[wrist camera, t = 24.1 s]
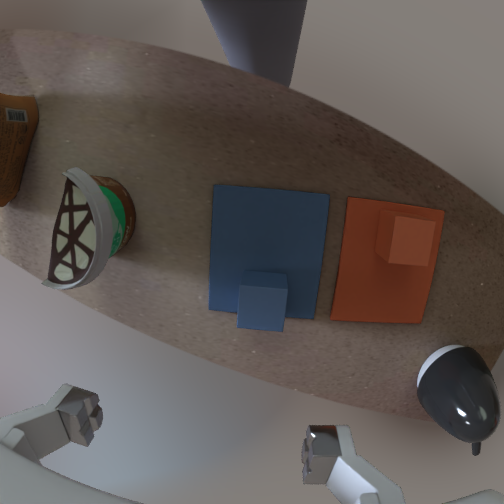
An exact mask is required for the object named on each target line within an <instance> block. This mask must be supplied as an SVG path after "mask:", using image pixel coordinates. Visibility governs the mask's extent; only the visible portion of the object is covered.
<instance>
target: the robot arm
mask: <svg viewBox="0 0 504 504" xmlns="http://www.w3.org/2000/svg"><path fill="white" fill-rule="evenodd" d="M98 402H99V398H98V395H97V394H96V393H93V392H90V391H87V390H84V389H81V388H78V387H75V386H72V385H69V384H63V385H62V386H61V387H60V388H59V390H58V391H57V392H56V393H55V394H54V395H53V397H51V399H50V400H49V401H48V402H47V403H46V404H45V405H44V404H41V405H38V406H35V407H32V408H29V409H26V410H23V411H20V412H17V413H14V414H11V415H8V416H5V417H2V418H0V504H143V503H139V502H136V501H132V500H129V499H125V498H122V497H119V496H116V495H112V494H110V493H107V492H104V491H101V490H98V489H96V488H93V487H90V486H88V485H85V484H82V483H80V482H77V481H75V480H72V479H70V478H68V477H65V476H63V475H61V474H59V473H56V472H54V471H52V470H50V469H48V468H46V467H44V466H42V464H41V463H40V461H39V459H41V458H43V457H44V456H46V455H48V454H50V453H52V452H54V451H55V450H57V449H59V448H61V447H62V446H64V445H66V444H68V443H69V442H70V441H72V442H74V443H77V444H81V445H83V446H86V447H88V446H89V444H90V443H91V441H92V439H93V438H94V434H93V432H94V431H96V430H98V429H99V428H100V426H101V424H102V420H103V412H102V408H101V407H100V406H99V405H98ZM306 436H307V438H306V439H304V442H303V446H302V463H304V467H303V471H302V472H303V484H326V486H327V487H328V488H329V490H330V491H331V492H332V493H333V495H334V496H335V497H336V498H337V499H338V500H339V502H340V503H341V504H406V503H405V499H404V496H403V493H402V490H401V487H399V486H398V485H397V484H395V483H394V482H393V481H391V480H390V479H389V478H388V477H386V476H385V475H384V474H383V473H381V472H380V471H379V470H378V469H376V468H375V467H374V466H373V465H371V464H370V463H369V462H368V461H367V460H365V459H364V458H363V457H362V456H360V455H357V454H356V451H355V446H354V442H353V438H352V434H351V431H350V427H349V426H348V425H335V426H334V425H309V426H308V428H307V431H306ZM443 504H504V495H503V494H501V493H499V492H497V491H494V490H492V489H488V490H484V491H480V492H478V493H475V494H472V495H469V496H466V497H463V498H460V499H457V500H453V501H450V502H447V503H443Z"/></svg>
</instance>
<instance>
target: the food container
mask: <svg viewBox="0 0 504 504" xmlns="http://www.w3.org/2000/svg"><path fill="white" fill-rule="evenodd" d="M62 175H64V176H66V177H67V180H66V183H65V189H64V194H63V198H62V202H61V205H60V209H59V212H58V215H57V219H56V222H55V226H54V230H53V237H52V250H51V259H50V265H49V273H48V279H46V280H45V281H44V282H42V284H43V285H45V286H47V287H50V288H53V289H64V290H65V289H73V288H76V287H80V286H83V285H86V284H88V283H90V282H91V281H93V280H94V279H95V278H96V277H97V276H99V274H100V273H101V272H102V270H103V269H104V267H105V265H106V263H107V261H108V259H109V258H110V257H111V256H112V255H114V254H115V253H116V252H117V251H118V250H120V249H121V248H122V247H123V246H125V245H126V244H127V243H128V241H129V240H130V238H131V236H132V234H133V231H134V228H135V221H136V216H135V208H134V204H133V201H132V199H131V197H130V195H129V193H128V192H127V190H126V189H125V188H124V187H123V186H122V185H121V184H120V183H119V182H117V181H116V180H114V179H112V178H109V177H101V176H92V175H88V174H87V173H85V172H84V171H83V170H81V169H79V168H77V167H74V168H71V169H68V170H67V171H66V173H62Z"/></svg>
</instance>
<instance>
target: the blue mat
mask: <svg viewBox="0 0 504 504" xmlns="http://www.w3.org/2000/svg"><path fill="white" fill-rule="evenodd" d="M329 200H330V195H329V194H321V193H311V192H301V191H291V190H280V189H269V188H256V187H243V186H228V185H214V191H213V209H212V228H211V251H210V277H209V310H216V311H225V312H235V313H238V300H239V285H240V282H241V278H242V275H243V271H244V270H248V271H259V272H270V273H281V274H286V275H287V284H288V295H287V303H286V311H285V317H292V318H306V319H313V318H314V313H315V306H316V300H317V294H318V287H319V280H320V273H321V266H322V259H323V251H324V243H325V235H326V227H327V218H328V209H329Z"/></svg>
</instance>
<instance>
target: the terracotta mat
mask: <svg viewBox="0 0 504 504" xmlns="http://www.w3.org/2000/svg"><path fill="white" fill-rule="evenodd" d="M380 210H388V211H396V212H403V213H409V214H416V215H419V216H422V217H425V218H428V219H430V220H433V221H435V222H436V224H435V230H434V236H433V242H432V247H431V253H430V258H429V263H428V266H416V265H405V264H394V263H388V262H387V261H385V260H384V259H383V258H382V257H381V256H380V255H379V254H377V253H376V252H375V245H376V239H377V232H378V225H379V218H380ZM444 213H445V211H442V210H436V209H431V208H424V207H418V206H412V205H405V204H399V203H392V202H385V201H378V200H370V199H363V198H355V197H348V198H347V207H346V215H345V223H344V231H343V239H342V246H341V253H340V260H339V267H338V273H337V280H336V286H335V292H334V298H333V303H332V309H331V314H330V320H338V321H359V322H385V323H421V321H422V317H423V314H424V310H425V306H426V303H427V299H428V295H429V291H430V287H431V282H432V278H433V274H434V269H435V264H436V259H437V254H438V249H439V244H440V238H441V232H442V226H443V220H444Z"/></svg>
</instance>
